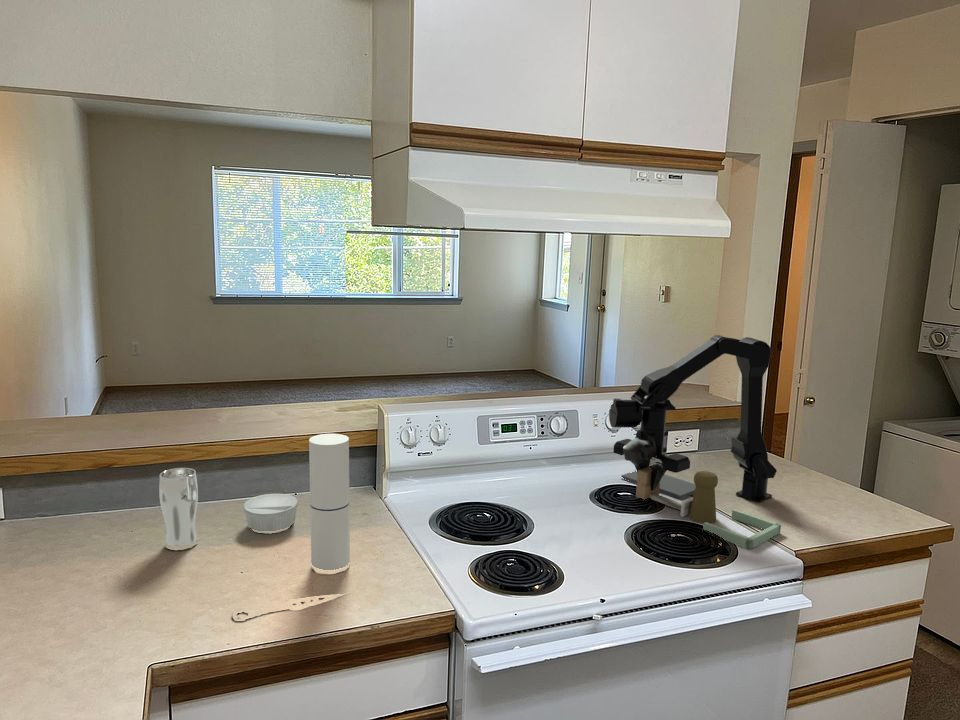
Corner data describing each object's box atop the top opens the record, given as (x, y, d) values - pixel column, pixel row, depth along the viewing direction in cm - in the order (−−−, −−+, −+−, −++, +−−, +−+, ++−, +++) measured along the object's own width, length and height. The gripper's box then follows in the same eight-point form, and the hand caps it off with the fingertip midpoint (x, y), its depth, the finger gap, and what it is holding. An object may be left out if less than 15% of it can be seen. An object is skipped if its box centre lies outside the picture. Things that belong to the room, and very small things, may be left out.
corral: (733, 517, 161) (734, 509, 161) (780, 533, 153) (781, 524, 152) (702, 531, 153) (703, 523, 152) (749, 549, 144) (750, 540, 144)
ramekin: (257, 542, 142) (256, 517, 141) (235, 524, 150) (234, 501, 149) (307, 528, 149) (307, 504, 148) (284, 511, 158) (283, 489, 157)
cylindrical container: (316, 578, 128) (314, 446, 123) (307, 561, 134) (304, 436, 130) (354, 570, 131) (353, 442, 127) (343, 554, 137) (342, 431, 133)
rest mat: (644, 471, 191) (644, 467, 191) (702, 490, 177) (703, 486, 177) (621, 478, 184) (621, 475, 184) (680, 499, 171) (680, 495, 171)
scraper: (651, 491, 174) (653, 464, 173) (700, 509, 164) (702, 481, 163) (634, 497, 170) (636, 470, 168) (683, 516, 160) (686, 487, 158)
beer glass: (208, 541, 141) (204, 470, 139) (180, 555, 135) (176, 481, 132) (182, 534, 144) (179, 465, 142) (154, 547, 138) (150, 475, 135)
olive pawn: (710, 526, 156) (714, 479, 154) (684, 518, 159) (688, 472, 157) (720, 518, 160) (724, 472, 158) (695, 511, 164) (699, 466, 162)
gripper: (600, 423, 170) (597, 484, 173) (665, 442, 156) (660, 508, 159) (629, 416, 177) (625, 475, 180) (694, 434, 163) (688, 497, 166)
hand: (648, 488), depth 171 cm, fingers closed on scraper, 2 cm apart
